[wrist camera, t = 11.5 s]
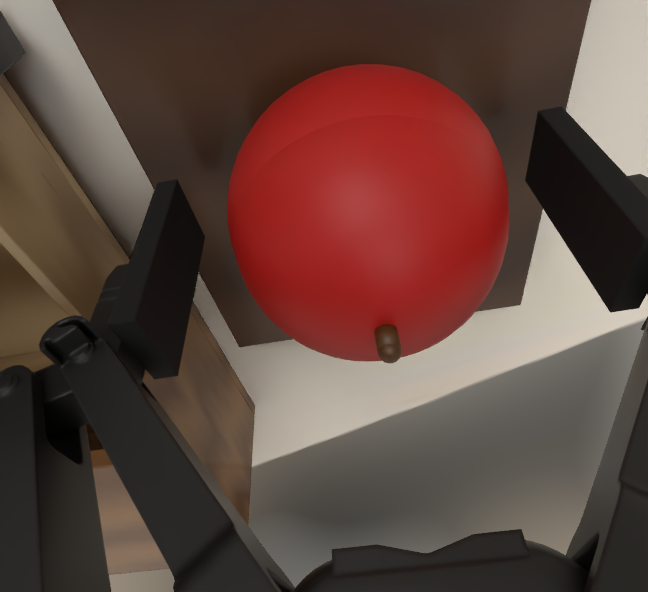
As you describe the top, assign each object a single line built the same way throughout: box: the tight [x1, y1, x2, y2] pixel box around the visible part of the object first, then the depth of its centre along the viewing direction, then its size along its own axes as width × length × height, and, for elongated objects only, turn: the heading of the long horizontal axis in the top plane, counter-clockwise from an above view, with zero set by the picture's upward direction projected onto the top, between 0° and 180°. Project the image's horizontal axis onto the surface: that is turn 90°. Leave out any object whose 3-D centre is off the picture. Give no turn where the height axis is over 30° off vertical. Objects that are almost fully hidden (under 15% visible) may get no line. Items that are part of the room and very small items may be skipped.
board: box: [53, 0, 591, 347], centre depth 18 cm, size 24×17×2 cm
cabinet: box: [86, 302, 255, 575], centre depth 28 cm, size 16×25×11 cm, turn 100°
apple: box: [227, 64, 509, 363], centre depth 14 cm, size 9×9×10 cm
